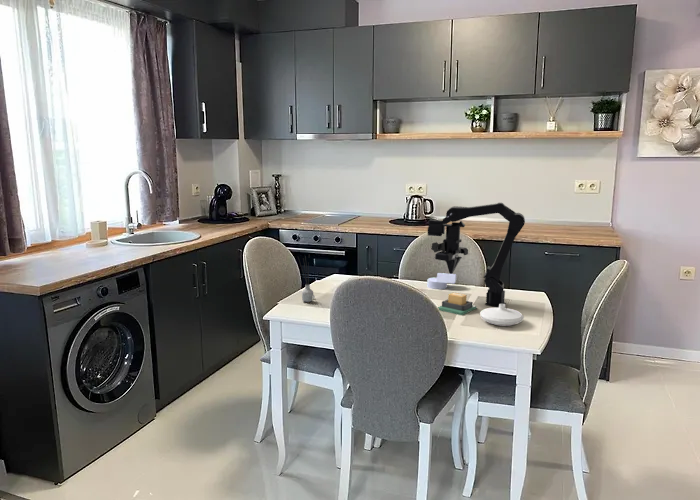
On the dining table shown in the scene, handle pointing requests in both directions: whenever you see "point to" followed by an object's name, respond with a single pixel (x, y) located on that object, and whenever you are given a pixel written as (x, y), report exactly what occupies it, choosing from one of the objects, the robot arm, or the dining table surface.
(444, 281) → the wedge on round base
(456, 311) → the socket board
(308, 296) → the reed diffuser
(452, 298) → the plug
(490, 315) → the vase
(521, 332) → the dining table surface
